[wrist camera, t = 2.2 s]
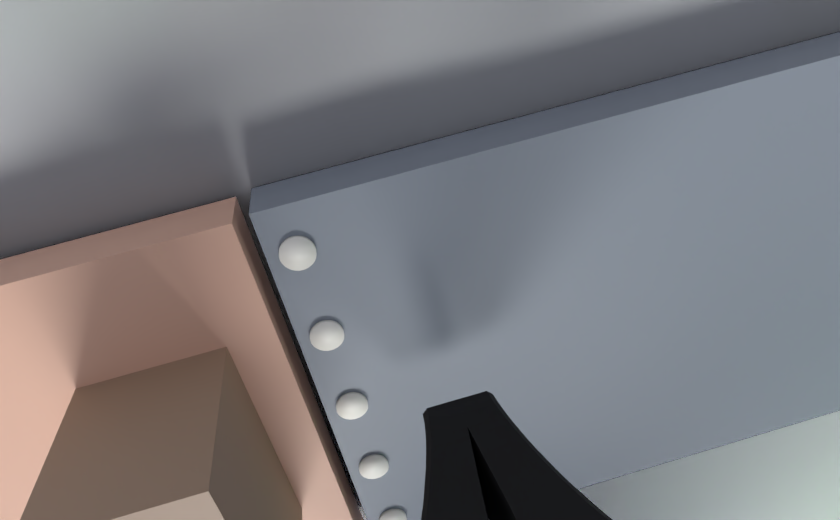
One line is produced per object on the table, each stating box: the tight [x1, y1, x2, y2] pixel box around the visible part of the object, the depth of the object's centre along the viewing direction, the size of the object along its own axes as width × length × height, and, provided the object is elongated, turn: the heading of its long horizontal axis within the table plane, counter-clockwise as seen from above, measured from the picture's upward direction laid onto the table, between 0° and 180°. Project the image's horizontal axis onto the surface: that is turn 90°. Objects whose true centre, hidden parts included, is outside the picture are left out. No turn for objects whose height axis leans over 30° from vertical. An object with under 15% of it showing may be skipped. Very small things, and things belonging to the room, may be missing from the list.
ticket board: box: [249, 32, 840, 520], centre depth 15 cm, size 10×14×1 cm
